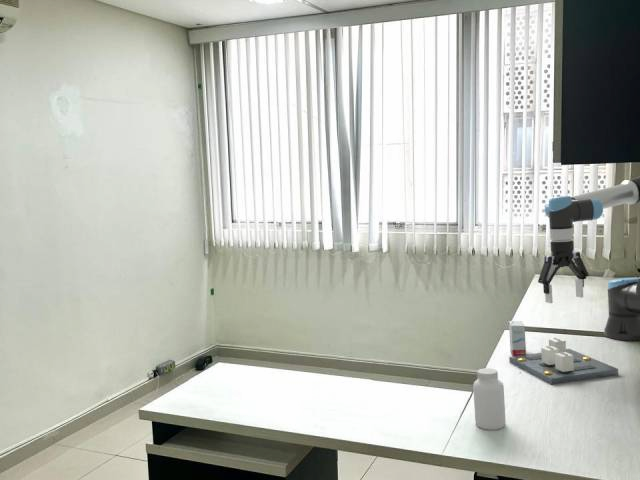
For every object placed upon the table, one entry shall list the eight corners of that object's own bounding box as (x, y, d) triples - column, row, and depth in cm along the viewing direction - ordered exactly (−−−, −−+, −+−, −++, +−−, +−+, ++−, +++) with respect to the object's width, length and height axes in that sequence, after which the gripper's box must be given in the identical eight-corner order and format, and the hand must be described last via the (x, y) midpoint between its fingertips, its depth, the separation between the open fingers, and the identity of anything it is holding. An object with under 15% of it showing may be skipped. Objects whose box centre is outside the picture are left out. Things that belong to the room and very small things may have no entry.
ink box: (526, 357, 220) (525, 325, 219) (512, 357, 221) (511, 325, 220) (523, 350, 229) (522, 320, 228) (510, 350, 230) (508, 320, 229)
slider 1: (559, 351, 216) (558, 336, 216) (566, 354, 212) (565, 339, 212) (549, 352, 215) (548, 338, 215) (555, 355, 211) (555, 340, 211)
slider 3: (566, 366, 199) (565, 350, 198) (573, 370, 195) (573, 354, 194) (555, 368, 198) (554, 352, 198) (562, 371, 194) (562, 355, 194)
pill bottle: (471, 420, 167) (468, 367, 166) (499, 417, 168) (496, 365, 166) (481, 432, 159) (478, 376, 158) (510, 429, 160) (508, 373, 158)
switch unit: (569, 354, 220) (569, 347, 220) (618, 374, 195) (618, 367, 195) (509, 362, 216) (509, 355, 215) (551, 384, 190) (551, 377, 190)
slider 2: (552, 360, 207) (551, 344, 206) (559, 363, 203) (558, 347, 202) (541, 361, 206) (541, 346, 205) (548, 365, 202) (547, 349, 201)
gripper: (581, 235, 219) (584, 293, 221) (525, 243, 211) (528, 303, 213) (597, 237, 212) (600, 296, 214) (540, 245, 204) (543, 306, 206)
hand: (564, 299), depth 214 cm, fingers open, 13 cm apart
